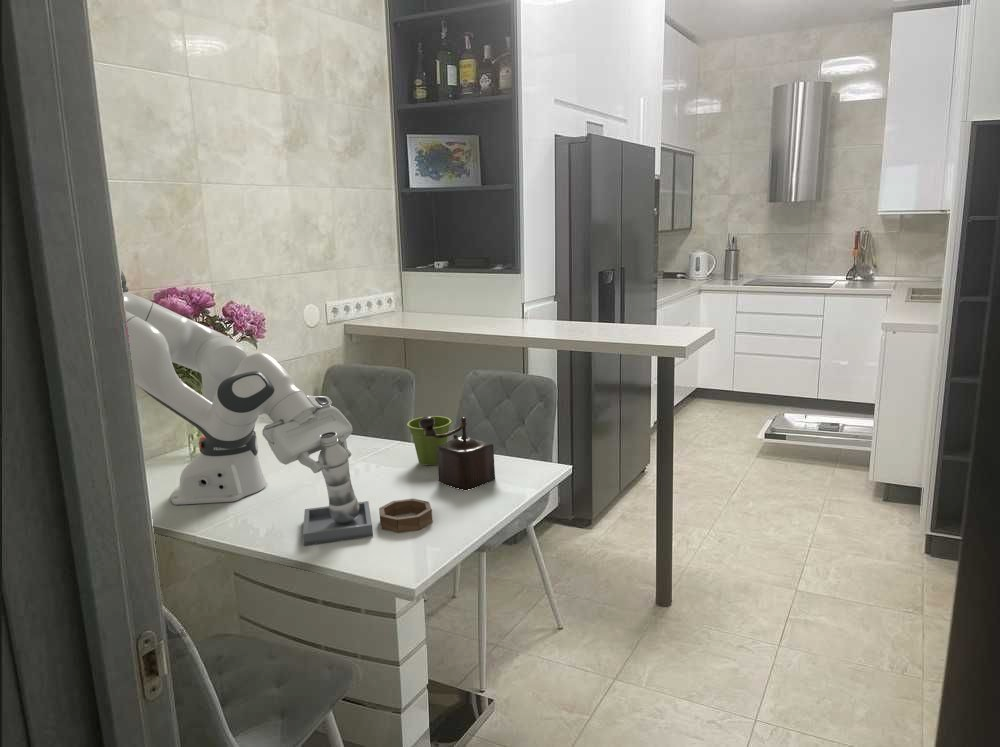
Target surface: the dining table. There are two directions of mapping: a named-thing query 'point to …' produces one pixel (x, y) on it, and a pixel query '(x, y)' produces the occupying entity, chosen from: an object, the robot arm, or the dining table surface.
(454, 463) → the manual coffee grinder
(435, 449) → the plant pot
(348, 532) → the charcoal tray
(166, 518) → the dining table surface
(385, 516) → the walnut collar
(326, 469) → the plastic bottle
